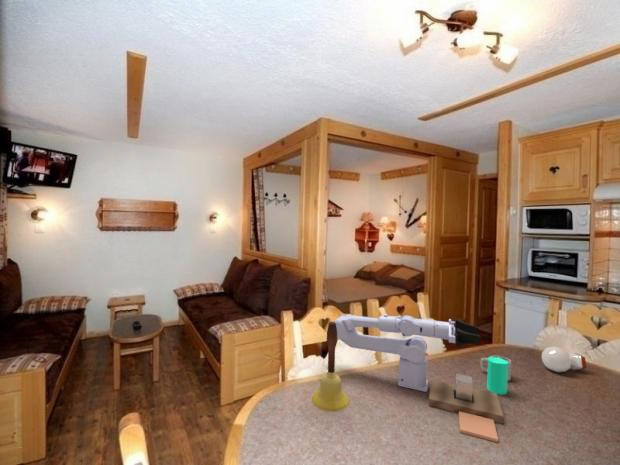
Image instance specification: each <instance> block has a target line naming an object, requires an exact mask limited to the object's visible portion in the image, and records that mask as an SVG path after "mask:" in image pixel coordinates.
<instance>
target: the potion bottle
mask: <svg viewBox="0 0 620 465" xmlns="http://www.w3.org/2000/svg"><path fill="white" fill-rule="evenodd" d="M541 360H542V362H543V365H544V366H545V367H546V368H547V369H549V370H551V371H553V372H555V373H563V372H567V371H568V370H570V369H571V370H572V371H576V370H578V371H580V370H583V369H584V370H586V369H587V362H586V357H585V356H582V355H581V354H578V353H575V352H572V351H569V352H568V351H566V350H565V349H563V348H561V347H559V346H555V345H554V346H548V347H546V348H545V349H543V350H542V353H541Z"/></svg>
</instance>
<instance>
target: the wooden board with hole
mask: <svg viewBox="0 0 620 465" xmlns="http://www.w3.org/2000/svg"><path fill="white" fill-rule="evenodd" d="M429 387H430V388H429V396H428V406H430V407H434V408H437V409H441V410H446V411H449V412H454V413H457V414H459V411H460V412H464V413H468V414H472V415H476V416H481V417H485V418H489V419H493V420H494V423H498V424H503V425H504V418H505V416H504V413H503V409H502V407H501V403H500V401H499V400H500V399H499V397H498V394H496V393H493V392H491V391H486V390H482V389H477V388H473V389H472V402H467V401H463V400H459V399H455V394H456V384H455V383H448V382H444V381H439V380H433V379H430V386H429Z"/></svg>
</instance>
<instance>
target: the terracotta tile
mask: <svg viewBox="0 0 620 465" xmlns="http://www.w3.org/2000/svg"><path fill="white" fill-rule="evenodd" d="M458 422H459V433H460V434H465V435H469V436H472V437H476V438H480V439H484V440H487V441H491V442H496V443H499V438H498V433H497V429H496V425H495V422H494V420H493V419H489V418H485V417H481V416H476V415H472V414H468V413H464V412H460V411H459V413H458Z"/></svg>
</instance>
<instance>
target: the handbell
mask: <svg viewBox="0 0 620 465" xmlns="http://www.w3.org/2000/svg"><path fill="white" fill-rule="evenodd" d="M326 330H327V331H326V343H327V348H328V351H327V352H328V353H327V354H328V355H327V372H326V373H324V374H323V375H322V376H321V377H320V387H319V389H317V390H316V391H314V392H313V394H312V395H313V396H312V395H311V398H312V399H311V402H312V404H313V403H314V404H313V405H314V406H315V407H316V406H317V407H316V408H318V409H320V410H322V409H323V411H325V412H326V411H327V412H339V411H343V410H344V409H346V408H347V407H348V406H349V405H350V397H349V395H348V394H347V393H346V392H345V391H343V389H342V380H341V377H340V376H339V375H338V374H336V372H335V368H336V348H337V344H338V339H337V327H336V323H335V322H333V321H330V322H329V323H328V325H327V329H326Z"/></svg>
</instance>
